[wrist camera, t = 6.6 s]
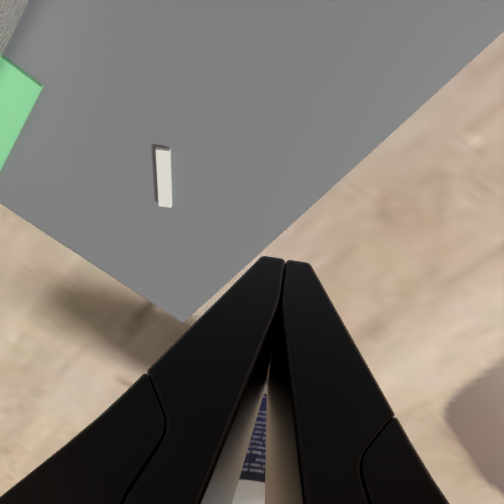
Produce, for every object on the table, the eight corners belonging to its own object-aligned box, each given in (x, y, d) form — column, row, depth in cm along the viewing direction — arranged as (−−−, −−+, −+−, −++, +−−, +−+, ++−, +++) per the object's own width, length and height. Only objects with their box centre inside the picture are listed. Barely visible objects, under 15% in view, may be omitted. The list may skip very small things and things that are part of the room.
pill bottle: (202, 378, 26) (147, 575, 18) (283, 349, 24) (260, 560, 16) (255, 431, 28) (227, 626, 20) (333, 409, 26) (335, 619, 18)
